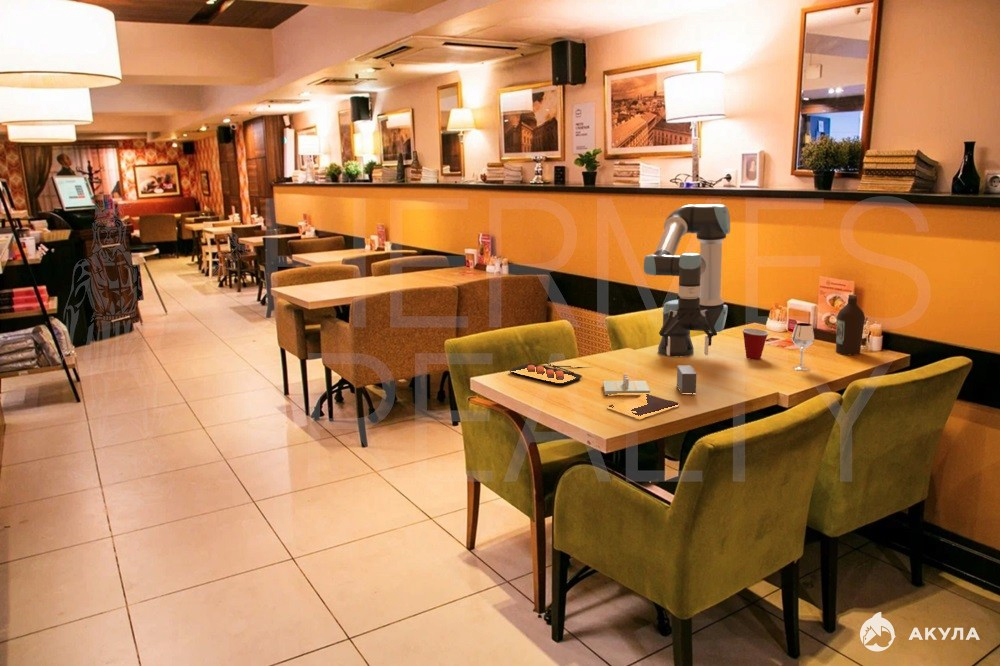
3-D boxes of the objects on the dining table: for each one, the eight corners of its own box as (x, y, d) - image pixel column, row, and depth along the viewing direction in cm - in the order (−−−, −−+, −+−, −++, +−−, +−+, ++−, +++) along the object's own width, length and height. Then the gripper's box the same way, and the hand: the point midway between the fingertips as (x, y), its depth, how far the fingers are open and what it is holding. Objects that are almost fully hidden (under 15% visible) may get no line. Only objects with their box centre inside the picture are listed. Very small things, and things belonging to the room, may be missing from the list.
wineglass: (805, 372, 280) (808, 327, 276) (785, 368, 286) (788, 324, 282) (815, 368, 285) (819, 324, 281) (796, 364, 291) (799, 321, 287)
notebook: (606, 410, 247) (606, 404, 246) (645, 397, 258) (646, 392, 258) (639, 421, 235) (639, 415, 235) (678, 408, 247) (679, 402, 246)
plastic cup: (771, 361, 297) (773, 333, 294) (745, 361, 297) (746, 333, 294) (762, 354, 307) (764, 327, 305) (737, 354, 308) (738, 327, 305)
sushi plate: (506, 375, 291) (506, 366, 290) (554, 359, 312) (554, 350, 311) (561, 389, 271) (561, 379, 270) (608, 371, 291) (608, 362, 291)
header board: (602, 386, 271) (603, 372, 270) (645, 385, 270) (645, 371, 269) (605, 396, 260) (605, 381, 258) (649, 395, 258) (650, 381, 257)
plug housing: (676, 386, 269) (677, 365, 267) (690, 385, 268) (690, 365, 266) (681, 395, 258) (682, 373, 256) (695, 395, 258) (696, 373, 256)
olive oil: (855, 349, 311) (860, 292, 305) (866, 355, 300) (871, 297, 295) (830, 349, 311) (834, 293, 305) (840, 356, 301) (845, 297, 295)
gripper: (655, 299, 252) (653, 357, 257) (727, 298, 250) (724, 356, 255) (652, 295, 260) (651, 352, 264) (722, 294, 258) (719, 351, 263)
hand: (687, 354), depth 260 cm, fingers open, 13 cm apart
